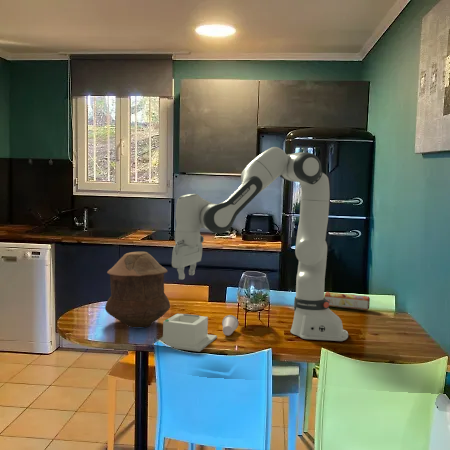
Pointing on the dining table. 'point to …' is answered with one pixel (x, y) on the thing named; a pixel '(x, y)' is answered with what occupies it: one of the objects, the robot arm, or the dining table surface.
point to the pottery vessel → (137, 290)
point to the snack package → (347, 300)
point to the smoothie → (229, 324)
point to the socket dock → (187, 332)
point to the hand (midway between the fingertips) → (186, 276)
